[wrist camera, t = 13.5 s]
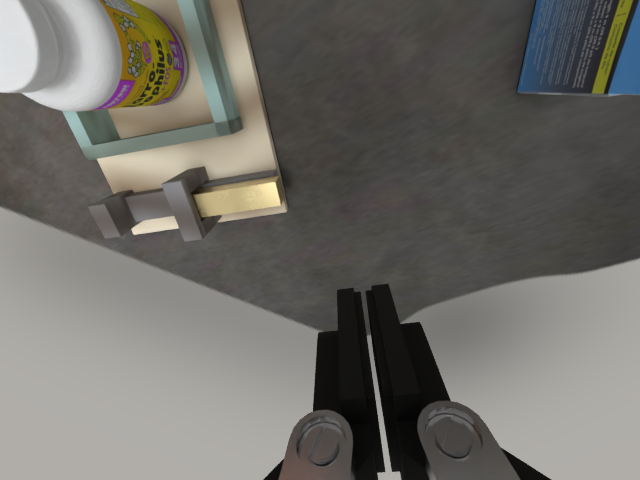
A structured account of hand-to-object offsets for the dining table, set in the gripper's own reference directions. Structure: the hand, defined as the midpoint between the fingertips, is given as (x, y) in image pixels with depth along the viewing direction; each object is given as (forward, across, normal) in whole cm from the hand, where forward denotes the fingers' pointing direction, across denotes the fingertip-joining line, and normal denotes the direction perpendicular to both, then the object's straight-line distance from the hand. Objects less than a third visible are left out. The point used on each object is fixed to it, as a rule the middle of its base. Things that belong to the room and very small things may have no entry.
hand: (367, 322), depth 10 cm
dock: (+20, +14, -8) cm, 26 cm away
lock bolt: (+17, +10, -1) cm, 20 cm away
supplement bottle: (+19, +14, -12) cm, 27 cm away
